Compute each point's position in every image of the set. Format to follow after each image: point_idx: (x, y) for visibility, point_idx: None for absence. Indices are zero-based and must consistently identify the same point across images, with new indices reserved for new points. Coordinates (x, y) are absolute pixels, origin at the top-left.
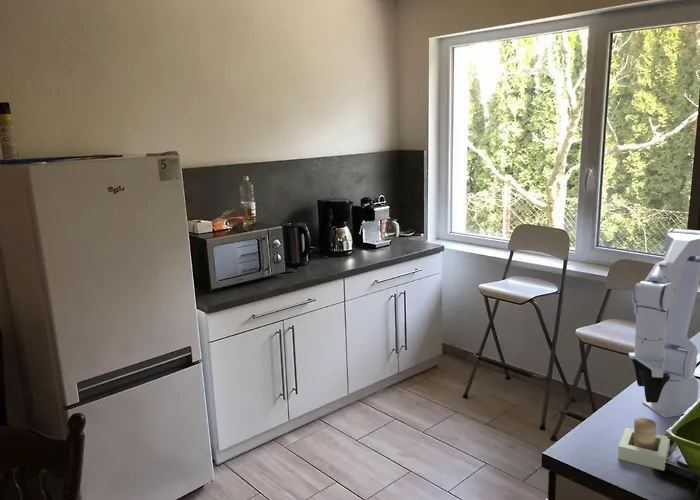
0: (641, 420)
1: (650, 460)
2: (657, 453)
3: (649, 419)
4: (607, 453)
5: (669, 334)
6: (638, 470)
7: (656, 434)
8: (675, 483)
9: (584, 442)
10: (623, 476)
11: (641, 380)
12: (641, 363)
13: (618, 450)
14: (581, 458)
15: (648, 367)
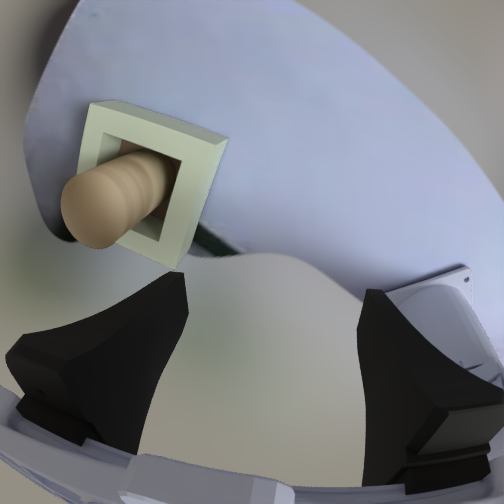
0: (101, 203)
1: None
2: None
3: (115, 236)
4: (144, 72)
5: None
6: None
7: (181, 236)
8: None
9: (199, 9)
10: (59, 110)
11: (370, 325)
12: (393, 420)
13: (99, 102)
14: (113, 8)
15: (12, 432)
